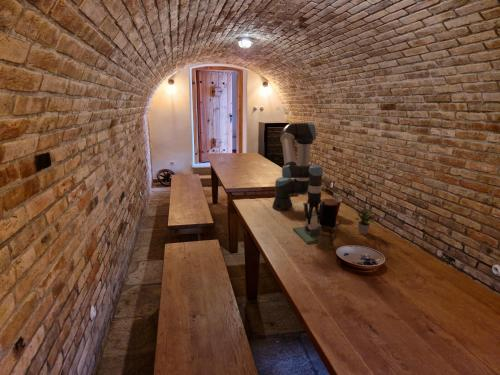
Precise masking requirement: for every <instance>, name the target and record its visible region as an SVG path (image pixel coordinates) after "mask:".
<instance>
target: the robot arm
mask: <svg viewBox="0 0 500 375" xmlns="http://www.w3.org/2000/svg"><path fill="white" fill-rule="evenodd" d="M315 126H316V125H315V124H314V123H311V122H291V123H288V124H286V125H285V126H284V127H283V128H282V129H281V132H280V134H279V138H280V143H282V144H281V146H282V155H283V163H284V164H283V166H282V168H281V177H278V178H277V179H275V184H274V188H275V191H274V192H275V193H274V199H273V202H272V208H273V210H276V211H279V212H280V211H281V212H284V211H285V212H286V211H291V210H292V209H293V202H292V198H291V195H292V196H293V195H294V196H295V195H299V196H300V195H303V196H304V195H307V200H306V202H303V208H304V209H303V210H304V218H305V219H306V220H307V221H306V223H308V224H309V225H308V228H309V229H310V230H312V219H311V216H312V212H315V213H316V214H317V223H318V224H319V219H320V217H322V213H323V206H324V204H325V202H324V201H321V200H322V199H321V198H322V187H323V186H322V184H323V182H322V181H323V172H324V170H323V166H321V165H318V164H310V156H311V145H313V144H314V141H316V139H317V131H316V130H317V129H316V127H315ZM294 141H296V142H295V143H297V146H298V147H297V157H296V151H295V150H296V149H295V143H294ZM313 210H314V211H313ZM316 229H317V227H316Z"/></svg>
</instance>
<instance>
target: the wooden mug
mask: <svg viewBox="0 0 500 375" xmlns="http://www.w3.org/2000/svg"><path fill="white" fill-rule="evenodd" d="M342 223H343V221H342V220H341V221H339V222H337V223H336V225H335V226H334V227H333V228H331V227H328V226H322V227H321V229H320V235H319V240H318V242H316V243H317V244H316V247H317V248H319V249H320V250H332V249H333V248H334V241H335V240H336V239H337V237H338V230H337V228H339V227H340V226H341V225H342Z"/></svg>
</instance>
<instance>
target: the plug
mask: <svg viewBox="0 0 500 375" xmlns="http://www.w3.org/2000/svg"><path fill="white" fill-rule="evenodd" d="M311 219H312V229H316V227H317V214H316V213H315V211H312V216H311Z"/></svg>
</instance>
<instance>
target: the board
mask: <svg viewBox="0 0 500 375" xmlns="http://www.w3.org/2000/svg"><path fill="white" fill-rule="evenodd" d="M308 225H309V224H308V223H307V222H306V224H305V225H304V226H299V227H298V226H297V227H293V228H292V231H293V232H294V233H295V234H296V235H297V236H298V237H299V238H300V239H302V241H303V242H305V243H306V245H308V244H315V243H318V240H319V235H320V229H321V225H320V224H319V223H317V229H312V230H310V229H309V228H308Z"/></svg>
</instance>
